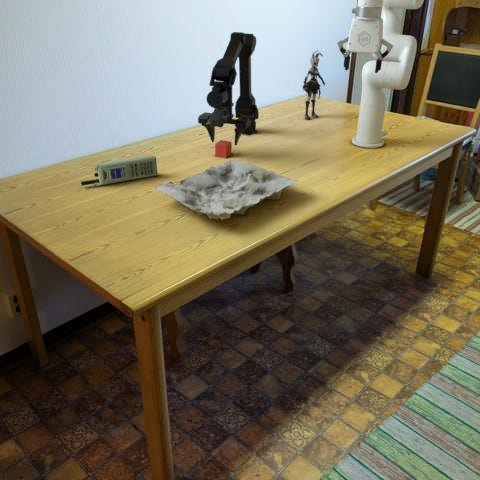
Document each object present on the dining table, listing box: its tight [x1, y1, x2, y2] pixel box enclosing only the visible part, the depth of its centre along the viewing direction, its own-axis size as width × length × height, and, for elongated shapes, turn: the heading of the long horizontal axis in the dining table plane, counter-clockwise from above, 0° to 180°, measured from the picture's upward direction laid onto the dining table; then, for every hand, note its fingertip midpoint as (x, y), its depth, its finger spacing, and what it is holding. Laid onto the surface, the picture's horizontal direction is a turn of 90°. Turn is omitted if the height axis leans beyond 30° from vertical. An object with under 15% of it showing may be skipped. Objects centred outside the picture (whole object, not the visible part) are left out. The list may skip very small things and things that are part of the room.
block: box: [214, 139, 233, 159], centre depth 188 cm, size 5×4×5 cm
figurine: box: [302, 49, 326, 120], centre depth 227 cm, size 15×6×30 cm, turn 132°
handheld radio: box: [80, 155, 159, 187], centre depth 164 cm, size 7×3×25 cm
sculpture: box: [153, 160, 300, 221], centre depth 153 cm, size 38×6×30 cm
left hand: (224, 143), depth 187 cm, fingers open, 9 cm apart
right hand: (361, 70), depth 164 cm, fingers open, 9 cm apart
